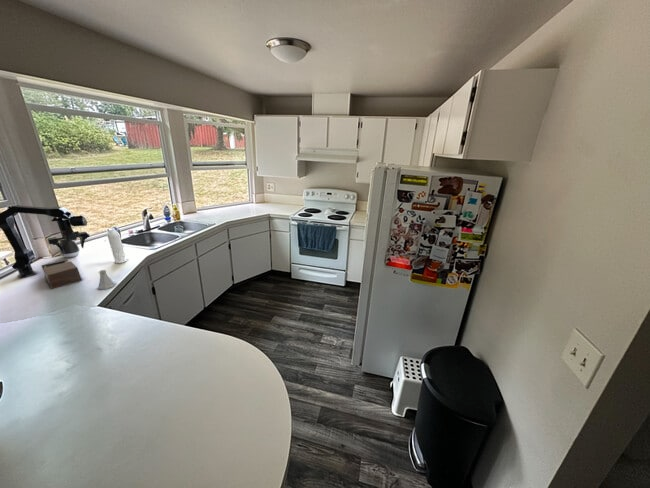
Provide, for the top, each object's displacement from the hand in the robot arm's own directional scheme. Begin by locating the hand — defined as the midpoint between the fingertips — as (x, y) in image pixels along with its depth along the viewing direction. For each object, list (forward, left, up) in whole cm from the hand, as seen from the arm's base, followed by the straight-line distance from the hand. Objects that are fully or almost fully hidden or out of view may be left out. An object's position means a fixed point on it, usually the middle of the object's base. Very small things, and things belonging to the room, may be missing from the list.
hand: (73, 250), depth 162 cm
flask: (+43, +3, -13) cm, 45 cm away
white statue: (+9, +20, -13) cm, 26 cm away
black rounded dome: (-30, +2, -13) cm, 33 cm away
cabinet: (+15, -10, -13) cm, 22 cm away
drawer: (+4, -10, -12) cm, 16 cm away
